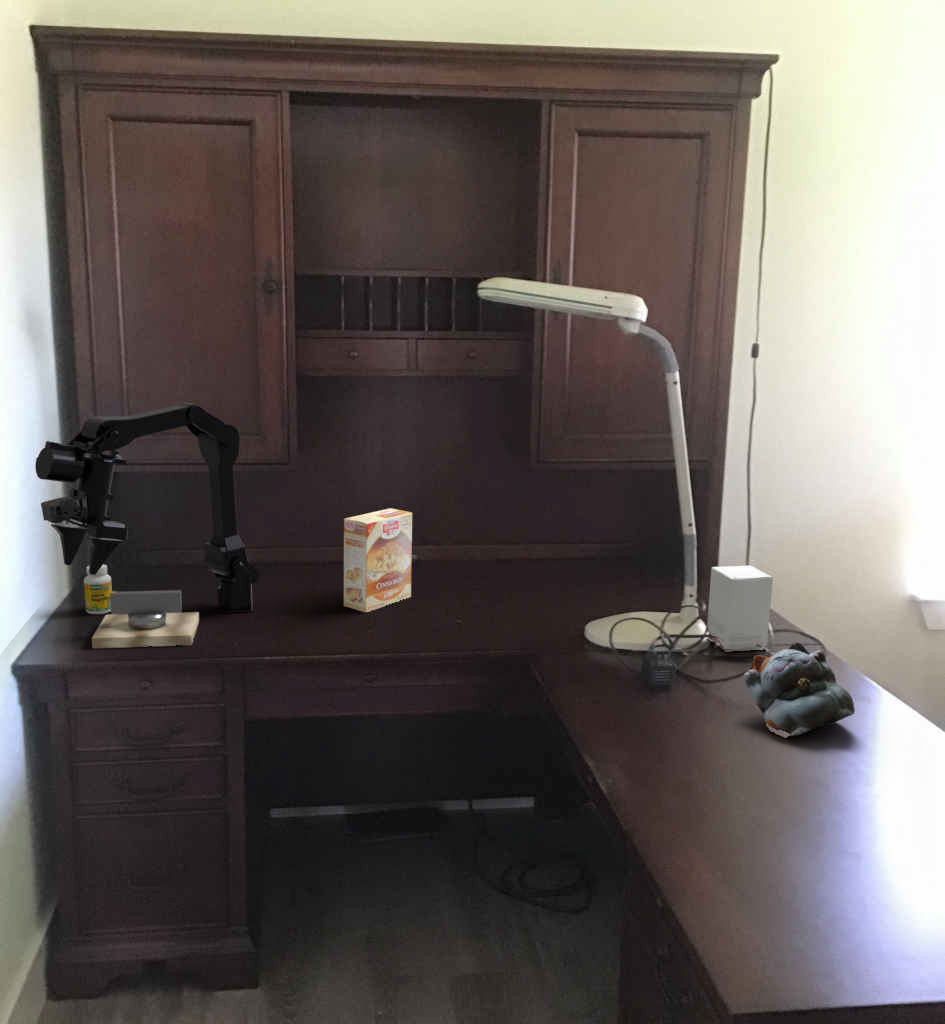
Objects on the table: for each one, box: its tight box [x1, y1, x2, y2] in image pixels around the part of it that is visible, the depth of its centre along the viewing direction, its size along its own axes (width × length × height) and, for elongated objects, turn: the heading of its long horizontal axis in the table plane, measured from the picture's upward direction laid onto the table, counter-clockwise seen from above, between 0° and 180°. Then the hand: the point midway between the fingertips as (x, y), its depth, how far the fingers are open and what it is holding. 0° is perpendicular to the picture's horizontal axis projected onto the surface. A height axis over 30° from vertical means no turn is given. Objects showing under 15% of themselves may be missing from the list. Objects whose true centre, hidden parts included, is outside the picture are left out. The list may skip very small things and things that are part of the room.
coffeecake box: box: [343, 507, 413, 613], centre depth 219 cm, size 15×7×20 cm, turn 143°
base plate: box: [91, 611, 200, 649], centre depth 197 cm, size 18×14×2 cm
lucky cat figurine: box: [743, 642, 856, 737], centre depth 162 cm, size 15×12×14 cm
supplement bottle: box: [83, 563, 113, 615], centre depth 210 cm, size 5×5×10 cm
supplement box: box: [706, 565, 774, 649], centre depth 198 cm, size 9×9×15 cm
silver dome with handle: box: [110, 589, 183, 630], centre depth 196 cm, size 13×7×7 cm, turn 99°
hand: (79, 569), depth 185 cm, fingers open, 9 cm apart
